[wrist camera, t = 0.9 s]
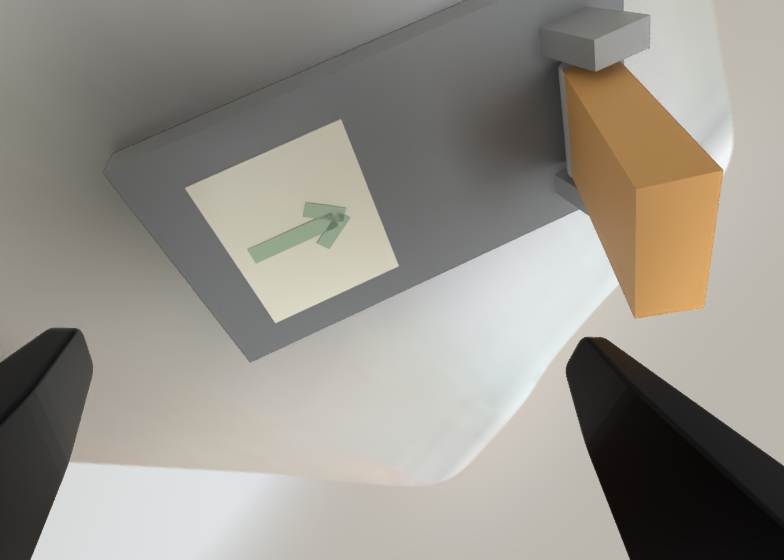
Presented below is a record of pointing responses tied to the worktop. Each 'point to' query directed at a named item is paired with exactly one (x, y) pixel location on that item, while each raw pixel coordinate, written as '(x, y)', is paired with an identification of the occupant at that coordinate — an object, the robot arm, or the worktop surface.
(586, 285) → the worktop surface
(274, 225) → the switch panel
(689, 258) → the orange lever
